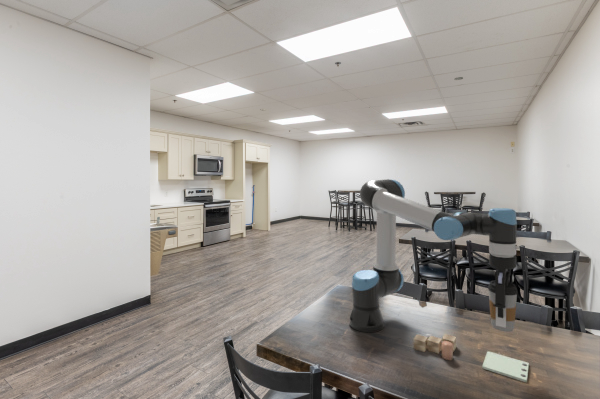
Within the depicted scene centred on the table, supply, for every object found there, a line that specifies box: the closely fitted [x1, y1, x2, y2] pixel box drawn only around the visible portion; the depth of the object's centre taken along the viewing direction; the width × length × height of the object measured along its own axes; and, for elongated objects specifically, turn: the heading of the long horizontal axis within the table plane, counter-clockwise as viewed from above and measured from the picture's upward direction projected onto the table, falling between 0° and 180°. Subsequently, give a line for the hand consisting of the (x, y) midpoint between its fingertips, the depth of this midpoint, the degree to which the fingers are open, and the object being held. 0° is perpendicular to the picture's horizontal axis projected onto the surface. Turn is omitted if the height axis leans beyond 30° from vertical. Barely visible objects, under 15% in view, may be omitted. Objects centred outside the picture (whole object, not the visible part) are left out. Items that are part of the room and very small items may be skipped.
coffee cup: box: [487, 280, 519, 333], centre depth 101 cm, size 8×8×15 cm
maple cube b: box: [427, 336, 442, 354], centre depth 113 cm, size 4×4×4 cm
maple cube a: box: [413, 334, 428, 353], centre depth 115 cm, size 4×4×4 cm
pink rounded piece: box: [441, 341, 454, 361], centre depth 108 cm, size 4×4×5 cm
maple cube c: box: [441, 333, 457, 352], centre depth 114 cm, size 4×4×4 cm
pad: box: [481, 350, 530, 384], centre depth 102 cm, size 12×11×1 cm
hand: (502, 321), depth 101 cm, fingers closed on coffee cup, 7 cm apart
